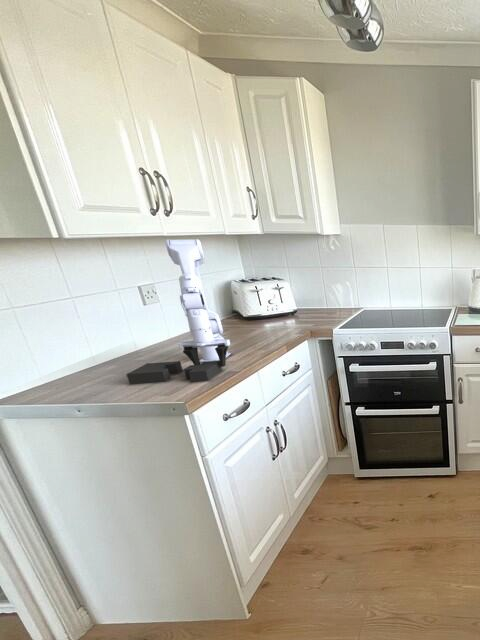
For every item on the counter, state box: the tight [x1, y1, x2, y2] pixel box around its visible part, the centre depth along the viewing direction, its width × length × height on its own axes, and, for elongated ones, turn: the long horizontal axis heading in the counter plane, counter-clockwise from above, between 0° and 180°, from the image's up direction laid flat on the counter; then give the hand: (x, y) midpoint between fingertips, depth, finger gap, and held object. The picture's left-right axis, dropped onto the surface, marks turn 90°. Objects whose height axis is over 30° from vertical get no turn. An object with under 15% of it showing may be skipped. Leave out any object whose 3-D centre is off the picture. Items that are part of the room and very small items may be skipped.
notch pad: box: [126, 360, 184, 385], centre depth 140 cm, size 12×10×4 cm
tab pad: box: [183, 361, 223, 383], centre depth 141 cm, size 12×8×4 cm, turn 15°
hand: (211, 366), depth 145 cm, fingers open, 7 cm apart
